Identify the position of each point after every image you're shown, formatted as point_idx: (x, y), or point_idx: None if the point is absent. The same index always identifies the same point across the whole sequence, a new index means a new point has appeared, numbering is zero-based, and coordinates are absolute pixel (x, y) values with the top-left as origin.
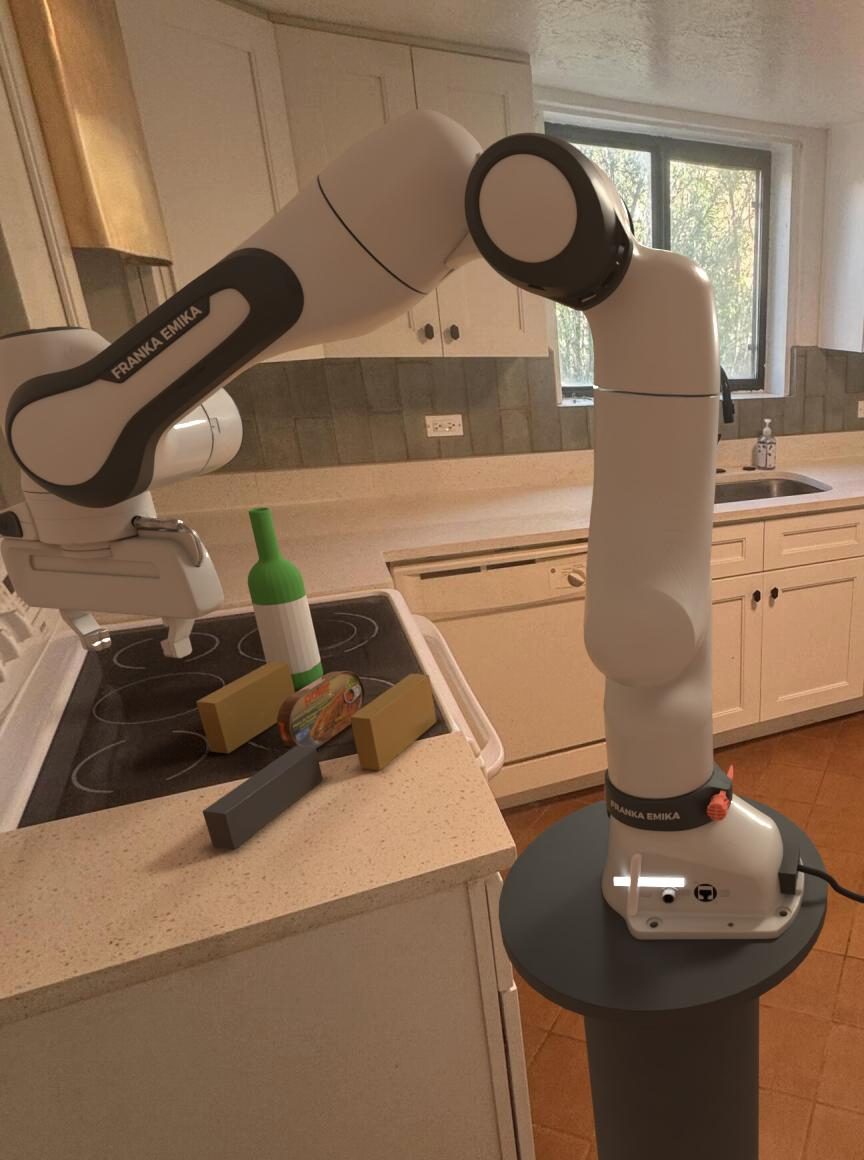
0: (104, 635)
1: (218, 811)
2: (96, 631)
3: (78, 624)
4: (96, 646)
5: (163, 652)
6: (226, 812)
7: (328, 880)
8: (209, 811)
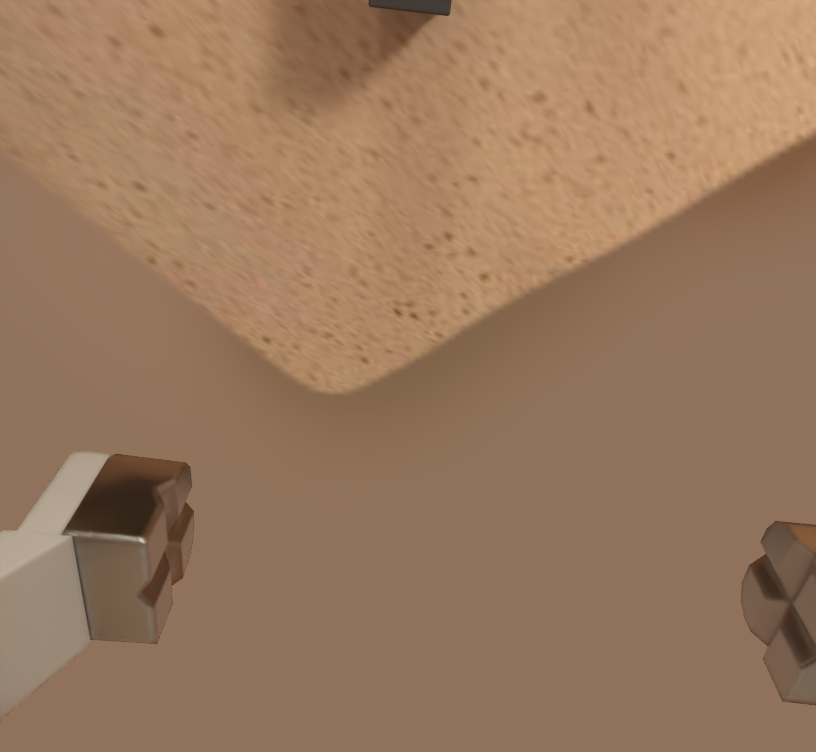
0: (164, 545)
1: (420, 3)
2: (101, 578)
3: (4, 693)
4: (185, 562)
5: (750, 630)
6: (450, 7)
7: (754, 105)
8: (392, 6)
